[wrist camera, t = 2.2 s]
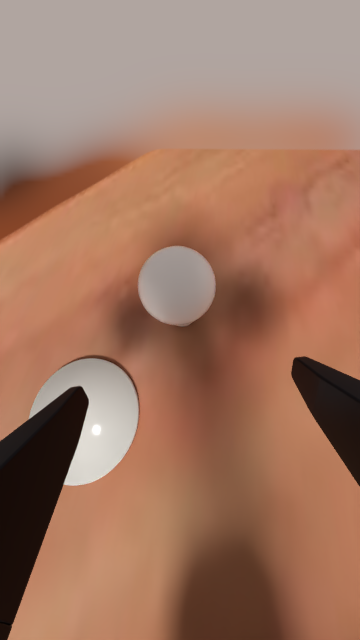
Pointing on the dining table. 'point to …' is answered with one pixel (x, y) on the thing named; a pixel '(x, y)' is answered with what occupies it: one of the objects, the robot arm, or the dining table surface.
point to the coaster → (96, 415)
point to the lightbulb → (176, 285)
